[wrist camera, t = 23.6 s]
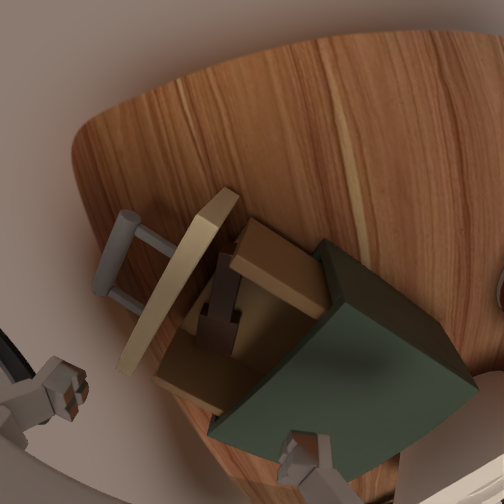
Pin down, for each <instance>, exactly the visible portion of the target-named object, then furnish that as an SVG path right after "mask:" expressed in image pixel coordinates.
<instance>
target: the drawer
mask: <svg viewBox="0 0 504 504" xmlns="http://www.w3.org/2000/svg"><path fill="white" fill-rule="evenodd" d="M239 197H240V196H239V195H237V194H236V193H234V192H233V191H231V190H229V189H228V188H226V187H224V188H223V189H222V190H221V191H220V192H219V193H218V194H217V195H216V196H215V197H214V198H213V199H212V200H210V201H209V202H208V203H207V204H206V205H205V206H204V207H203V208H202V209H201V210H200V211H199V212H198V213H197V214H196V216H195V218H194V219H193V221H192V223H191V225H190V226H189V228H188V230H187V231H186V233H185V235H184V237H183V238H182V240H181V242H180V244H179V246H178V247H177V246H175V245H174V244H172V243H171V242H169V241H167V240H166V239H164V238H163V237H161V236H160V235H158V234H157V233H155V232H153V231H152V230H150V229H149V228H147V227H146V226H144V225H143V224H141V225H140V223H141V217H140V216H139V215H138V214H137V213H136V212H134V211H132V210H128V209H122V210H121V211H120V212H119V214H118V217H117V219H116V222H115V224H114V226H113V229H112V231H111V234H110V236H109V239H108V241H107V244H106V246H105V249H104V251H103V254H102V257H101V259H100V262H99V265H98V267H97V270H96V273H95V276H94V279H93V282H92V285H91V288H92V291H93V292H94V293H95V294H96V295H98V296H101V297H105V296H109V297H111V298H112V299H114V300H115V301H117V302H118V303H120V304H121V305H123V306H124V307H126V308H127V309H129V310H130V311H132V312H133V313H135V314H136V315H138V316H139V317H140V318H139V320H138V322H137V324H136V326H135V328H134V330H133V332H132V334H131V336H130V338H129V340H128V342H127V344H126V346H125V349H124V351H123V353H122V355H121V357H120V359H119V361H118V363H117V365H116V368H115V369H116V370H118V371H119V372H121V373H123V374H124V375H126V376H128V377H131V376H132V374H133V372H134V370H135V368H136V367H137V365H138V363H139V362H140V360H141V358H142V356H143V355H144V353H145V351H146V349H147V348H148V346H149V344H150V342H151V341H152V339H153V337H154V336H155V334H156V332H157V330H158V329H159V327H160V325H161V324H162V322H163V320H164V319H165V317H166V315H167V314H168V312H169V310H170V308H171V307H172V305H173V303H174V302H175V300H176V298H177V297H178V295H179V293H180V292H181V290H182V288H183V287H184V285H185V283H186V282H187V280H188V279H189V277H190V275H191V274H192V272H193V270H194V269H195V267H196V265H197V264H198V262H199V261H200V259H201V257H202V256H203V254H204V253H205V251H206V249H207V248H208V246H209V245H210V243H211V241H212V240H213V238H214V237H215V235H216V233H217V232H218V230H219V229H220V227H221V225H222V224H223V222H224V221H225V219H226V218H227V216H228V215H229V213H230V211H231V210H232V208H233V207H234V205H235V204H236V202H237V201H238V199H239ZM134 236H137V237H138V238H140V239H141V240H143V241H144V242H146V243H147V244H149V245H151V246H152V247H154V248H155V249H157V250H158V251H160V252H161V253H163V254H164V255H166V256H167V257H169V258H171V260H170V262H169V263H168V265H167V267H166V269H165V271H164V273H163V274H162V276H161V278H160V280H159V282H158V284H157V286H156V288H155V289H154V291H153V293H152V295H151V297H150V299H149V301H148V303H147V305H146V306H144V305H143V304H141V303H140V302H138V301H137V300H135V299H134V298H132V297H131V296H129V295H128V294H126V293H125V292H123V291H122V290H120V289H119V288H117V287H116V286H113V284H114V282H115V279H116V277H117V275H118V272H119V270H120V268H121V265H122V263H123V261H124V258H125V256H126V254H127V252H128V249H129V247H130V245H131V243H132V240H133V238H134ZM234 243H238V244H237V247H236V249H235V252H234V254H233V257H232V259H231V262H230V264H229V267H230V268H231V269H233V270H235V271H236V272H238V273H240V274H241V275H242V278H241V282H240V287H239V291H238V295H237V299H236V304H235V308H234V310H236V311H240V312H242V315H241V320H240V324H239V328H238V332H237V336H236V340H235V344H234V348H233V352H232V355H231V356H230V355H226V354H222V353H218V352H214V351H210V350H207V349H203V348H199V347H195V346H194V343H195V337H196V330H197V324H198V318H199V313H200V311H201V309H202V307H203V304H204V303H208V304H209V301H210V296H211V291H212V285H213V280H214V274H215V272H214V273H213V275H212V276H211V278H210V279H209V281H208V282H207V284H206V285H205V287H204V288H203V290H202V291H201V293H200V294H199V296H198V298H197V299H196V301H195V302H194V304H193V305H192V307H191V308H190V310H189V311H188V313H187V314H186V316H185V318H184V319H183V321H182V322H181V324H180V325H179V327H178V329H177V331H176V332H175V334H174V336H173V338H172V340H171V342H170V344H169V346H168V348H167V350H166V352H165V354H164V356H163V358H162V360H161V362H160V364H159V367H158V369H157V371H156V373H155V375H154V377H153V379H152V382H154V383H155V384H157V385H159V386H161V387H163V388H164V389H166V390H168V391H170V392H172V393H173V394H175V395H177V396H179V397H181V398H183V399H185V400H187V401H189V402H191V403H193V404H195V405H197V406H199V407H201V408H203V409H205V410H207V411H209V412H211V413H213V414H215V415H217V416H219V417H221V416H222V415H223V414H225V413H226V412H227V411H228V410H229V409H230V408H231V407H232V406H233V405H235V404H236V403H237V402H238V401H239V400H240V399H241V398H242V397H243V396H244V395H245V394H246V393H248V392H249V391H250V390H251V389H252V388H253V387H254V386H255V385H256V384H257V383H258V382H259V381H260V380H261V379H262V378H263V377H264V376H265V375H266V374H267V373H268V372H269V371H270V370H271V369H272V368H273V367H274V366H275V365H276V364H277V363H278V362H279V361H280V360H281V359H282V358H283V357H284V356H285V355H286V354H287V353H288V352H289V351H290V350H291V349H292V348H293V347H294V346H295V345H296V344H297V343H298V342H299V341H300V340H301V339H302V338H303V337H304V336H305V335H306V334H307V333H308V332H309V330H310V329H311V328H312V327H313V326H314V325H315V324H316V323H317V322H318V321H319V320H320V319H321V317H322V316H323V315H324V314H325V313H326V312H327V311H328V310H329V309H330V308H331V306H332V305H333V304H332V299H331V295H330V291H329V287H328V283H327V279H326V275H325V271H324V267H323V264H321V263H320V262H319V261H317V260H316V259H314V258H313V257H311V256H310V255H308V254H307V253H305V252H304V251H302V250H300V249H299V248H297V247H296V246H294V245H293V244H291V243H290V242H288V241H287V240H285V239H284V238H282V237H281V236H279V235H278V234H276V233H275V232H273V231H272V230H270V229H268V228H267V227H265V226H264V225H262V224H261V223H259V222H258V221H256V220H255V219H253V218H250V219H249V221H248V222H247V224H246V225H245V227H244V228H243V230H242V231H241V233H240V234H239V236H238V237H237V239H236V240H235V242H234Z"/></svg>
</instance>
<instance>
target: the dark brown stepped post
mask: <svg viewBox="0 0 504 504" xmlns="http://www.w3.org/2000/svg"><path fill="white" fill-rule="evenodd" d="M237 244H238V243H234V242H230V241H224V243H223V245H222V247H221V249H220V251H219V253H218V259H217V264H216V269H215V274H214V280H213V285H212V291H211V296H210V301H209V304H208V303H204V304H203V307H202V309H201V311H200V313H199V318H198V324H197V330H196V337H195V343H194V346H195V347H199V348H203V349H207V350H210V351H214V352H218V353H222V354H226V355H230V356H231V355H232V352H233V348H234V344H235V340H236V336H237V332H238V328H239V324H240V320H241V315H242V312H240V311H236V310H234V308H235V304H236V299H237V295H238V291H239V287H240V282H241V278H242V275H241V274H240V273H238V272H236V271H235V270H233V269H231V268H230V267H229V264H230V262H231V259H232V257H233V254H234V252H235V249H236V247H237Z"/></svg>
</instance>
